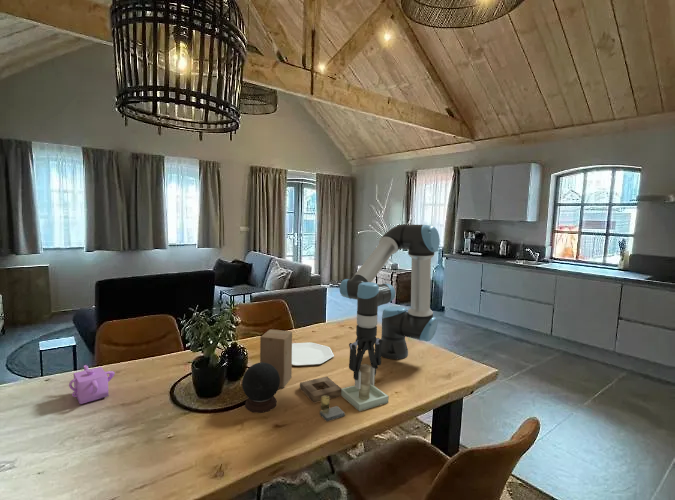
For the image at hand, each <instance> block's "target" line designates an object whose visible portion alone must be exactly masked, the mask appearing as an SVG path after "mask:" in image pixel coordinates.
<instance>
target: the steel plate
mask: <svg viewBox="0 0 675 500" xmlns="http://www.w3.org/2000/svg"><path fill="white" fill-rule="evenodd" d="M345 413H346V412H345V411H343V410H342V409H341V408H340V407H339V406H338V405H335V406H331V407H329V408H328V409H325V410H322V409H321V410H319V415H320V416H321V418H323V419H324V420H325V421H326V422H330V421H333V420H336V419H340V418H344V417H345V416H346V415H345Z"/></svg>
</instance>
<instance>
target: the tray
mask: <svg viewBox="0 0 675 500" xmlns="http://www.w3.org/2000/svg"><path fill="white" fill-rule="evenodd" d="M341 388H342V387H341ZM340 397H342V398H344V399H345V400H346V401H347V402H348V403H349V404H350V405H351V406H353V408H355V409H356V410H357V411H359V412H362V411H365V410H368V409H372V408H375V407H378V406H382V405H385V404H388V403H389V397H390V396H389V395H388V394H387V393H385V392H383V391H382V390H381V389H379V388H378V387H377V386H375V384H374V385H373V386H372V385H371V384H370V395H369V399H368V400H361V399H360V398H359V389H358V388H356V387H355V384H354V385H350V386H347V387H346V386H345V387H343V388H342V389H341V396H340Z"/></svg>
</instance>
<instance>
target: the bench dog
mask: <svg viewBox="0 0 675 500" xmlns="http://www.w3.org/2000/svg"><path fill="white" fill-rule="evenodd" d="M330 399H331V398H330V397H329V396H327V395H324V396H322V397H321V401H320V409H321V410H325V409H328V408H330V405H331V404H330Z"/></svg>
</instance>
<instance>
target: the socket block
mask: <svg viewBox="0 0 675 500" xmlns="http://www.w3.org/2000/svg"><path fill="white" fill-rule="evenodd" d="M299 389H300V391H301V392H302V393H304V395H305V396H306V397H307V398H308V399H309V400H310V401H311V402H312V403H313V404H315V403H319V402H321V397H322V396H324V395H327V396H329V397H330V399H333V398H338V397H342V396H341V389H342V387H340V385H338V384H337V383H336V382H334V381H333V380H332V379H331V378H330V377H329V376H323V377H319V378H315V379H309V380H305V381H302V382H300V383H299Z"/></svg>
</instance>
